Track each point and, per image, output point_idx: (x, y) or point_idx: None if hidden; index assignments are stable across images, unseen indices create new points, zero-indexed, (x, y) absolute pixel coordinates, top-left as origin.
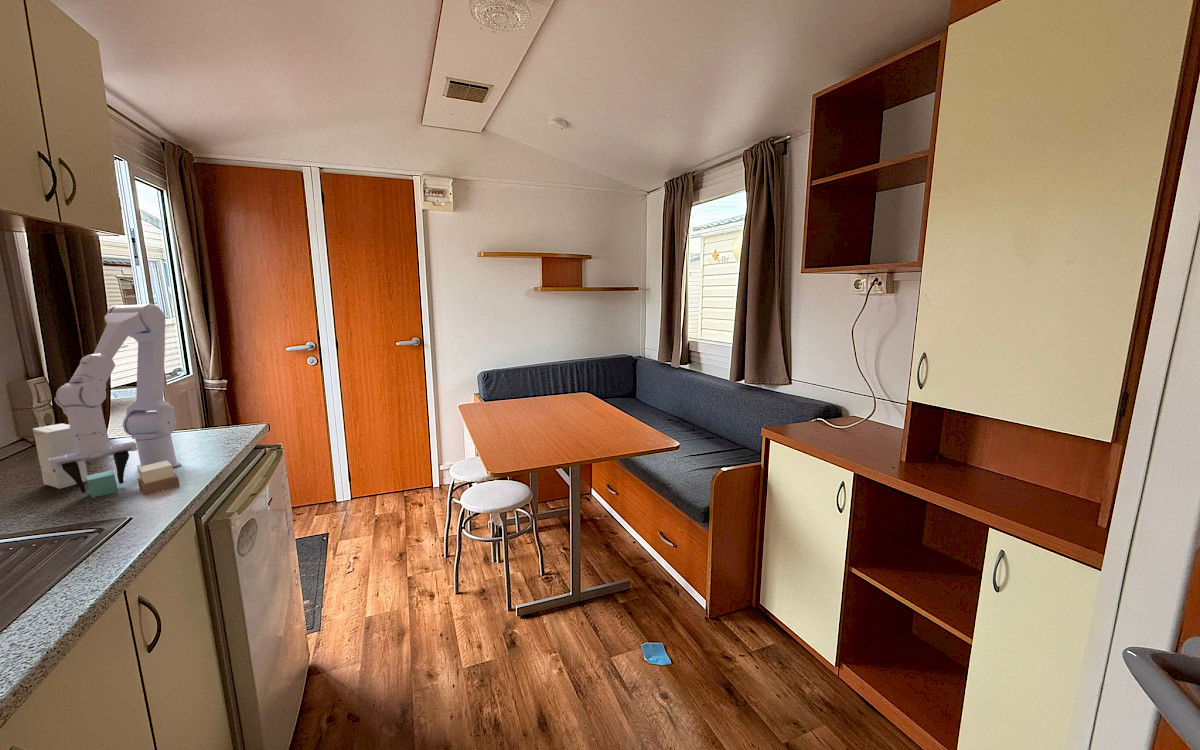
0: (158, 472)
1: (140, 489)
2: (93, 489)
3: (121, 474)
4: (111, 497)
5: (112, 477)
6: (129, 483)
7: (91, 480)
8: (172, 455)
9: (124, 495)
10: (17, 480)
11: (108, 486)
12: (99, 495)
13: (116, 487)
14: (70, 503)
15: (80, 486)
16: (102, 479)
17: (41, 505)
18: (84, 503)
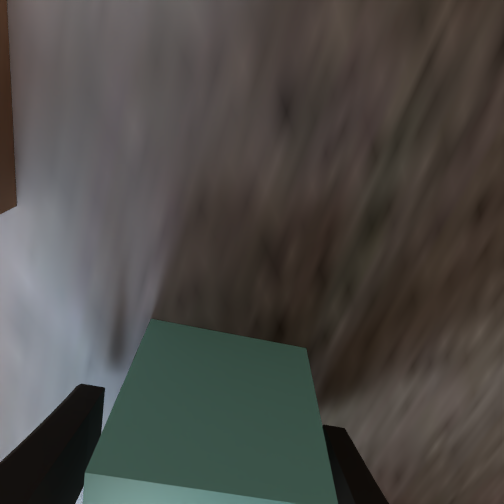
0: None
1: (5, 146)
2: (295, 397)
3: (30, 456)
4: (231, 213)
5: (122, 440)
6: None
7: (306, 492)
8: None
9: (148, 148)
10: None
11: (191, 373)
12: (263, 343)
13: (145, 344)
14: (417, 371)
15: (371, 481)
16: (212, 458)
17: (479, 481)
18: (389, 275)
